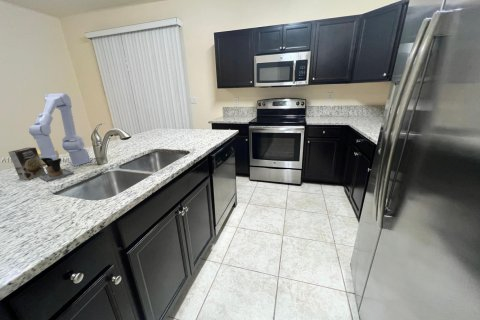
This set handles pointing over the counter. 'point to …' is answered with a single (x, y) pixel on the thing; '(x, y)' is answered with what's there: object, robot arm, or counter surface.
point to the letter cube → (52, 172)
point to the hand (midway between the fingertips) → (55, 170)
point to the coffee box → (27, 163)
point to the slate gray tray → (48, 178)
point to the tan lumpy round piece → (41, 155)
